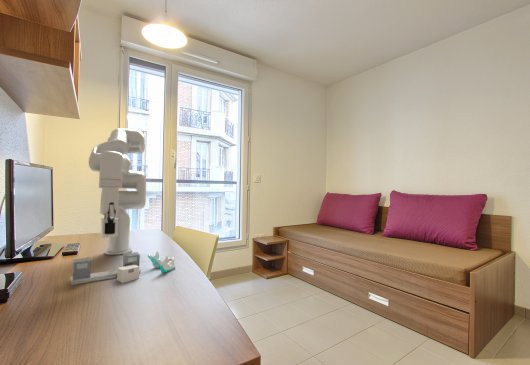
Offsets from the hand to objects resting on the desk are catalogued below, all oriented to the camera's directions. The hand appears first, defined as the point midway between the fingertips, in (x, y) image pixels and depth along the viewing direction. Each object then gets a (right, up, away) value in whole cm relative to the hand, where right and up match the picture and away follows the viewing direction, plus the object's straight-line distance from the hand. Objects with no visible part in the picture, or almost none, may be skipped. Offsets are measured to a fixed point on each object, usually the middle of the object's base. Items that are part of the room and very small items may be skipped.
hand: (108, 232), depth 98 cm
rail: (-1, -17, 0) cm, 17 cm away
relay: (+8, -17, -2) cm, 19 cm away
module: (0, -1, 0) cm, 1 cm away
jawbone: (+16, -18, +11) cm, 26 cm away
